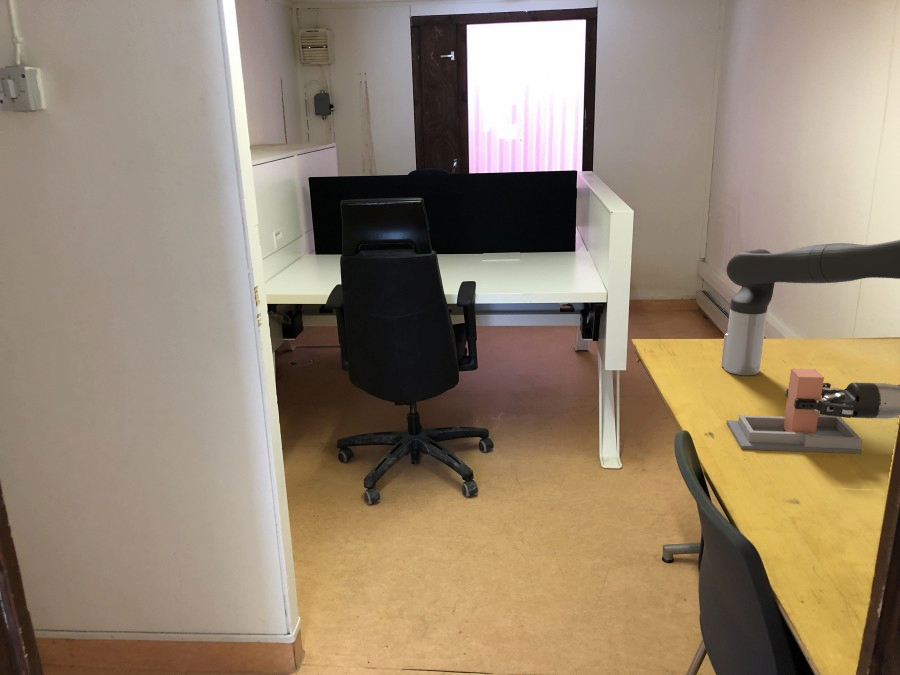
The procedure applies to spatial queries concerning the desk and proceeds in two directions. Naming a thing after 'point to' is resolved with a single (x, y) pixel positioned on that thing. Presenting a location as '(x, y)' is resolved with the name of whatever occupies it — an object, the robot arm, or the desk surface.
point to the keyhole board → (794, 435)
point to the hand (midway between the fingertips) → (790, 398)
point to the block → (805, 387)
